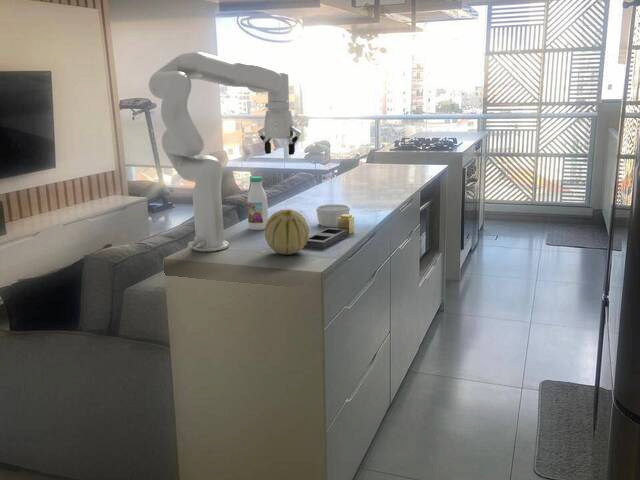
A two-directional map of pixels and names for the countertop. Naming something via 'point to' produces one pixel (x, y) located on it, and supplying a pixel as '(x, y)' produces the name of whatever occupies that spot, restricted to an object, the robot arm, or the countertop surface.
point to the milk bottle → (257, 205)
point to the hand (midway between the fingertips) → (279, 154)
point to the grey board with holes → (326, 238)
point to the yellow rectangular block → (346, 223)
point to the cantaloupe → (286, 232)
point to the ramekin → (331, 214)
